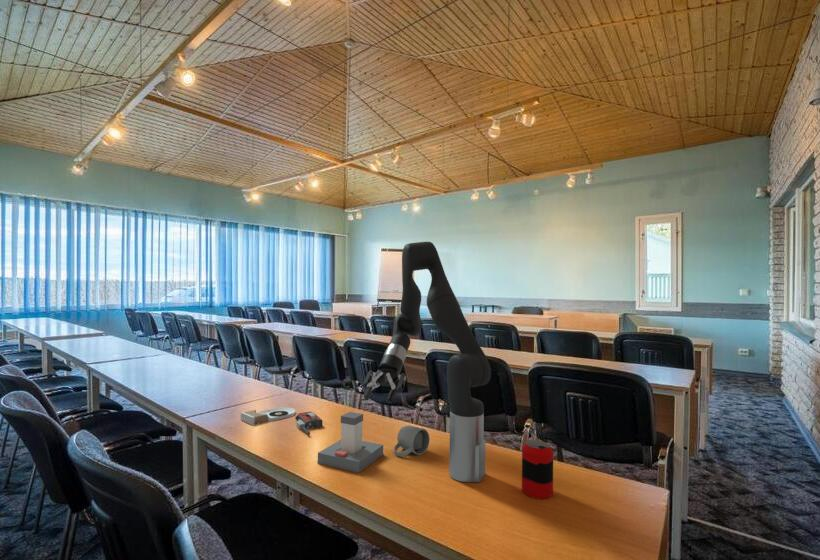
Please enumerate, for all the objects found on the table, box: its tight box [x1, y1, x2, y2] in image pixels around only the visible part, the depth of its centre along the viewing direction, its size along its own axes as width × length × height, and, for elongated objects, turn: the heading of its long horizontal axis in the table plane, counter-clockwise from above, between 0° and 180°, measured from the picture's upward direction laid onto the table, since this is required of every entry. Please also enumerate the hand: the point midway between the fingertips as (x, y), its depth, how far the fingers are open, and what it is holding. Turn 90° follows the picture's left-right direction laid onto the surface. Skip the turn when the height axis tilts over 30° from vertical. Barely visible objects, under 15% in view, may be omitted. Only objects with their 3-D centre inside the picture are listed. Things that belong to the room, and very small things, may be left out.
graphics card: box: [240, 406, 296, 426], centre depth 162 cm, size 12×3×20 cm
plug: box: [340, 411, 364, 454], centre depth 123 cm, size 5×5×13 cm
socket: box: [317, 439, 384, 474], centre depth 123 cm, size 14×14×4 cm
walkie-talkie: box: [294, 410, 323, 435], centre depth 151 cm, size 9×4×20 cm
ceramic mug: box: [393, 425, 430, 458], centre depth 129 cm, size 11×8×8 cm
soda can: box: [521, 439, 554, 500], centre depth 105 cm, size 8×8×12 cm
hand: (377, 400), depth 134 cm, fingers open, 8 cm apart
